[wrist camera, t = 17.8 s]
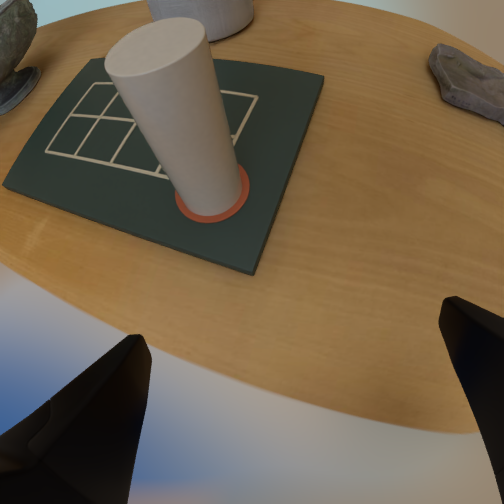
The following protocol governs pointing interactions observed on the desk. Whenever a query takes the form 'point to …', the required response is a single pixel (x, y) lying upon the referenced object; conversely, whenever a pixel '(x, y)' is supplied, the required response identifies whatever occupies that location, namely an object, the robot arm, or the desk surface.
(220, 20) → the planter
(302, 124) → the board
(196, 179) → the white upright cylinder
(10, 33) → the bowl
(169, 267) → the desk surface
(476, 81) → the stone
